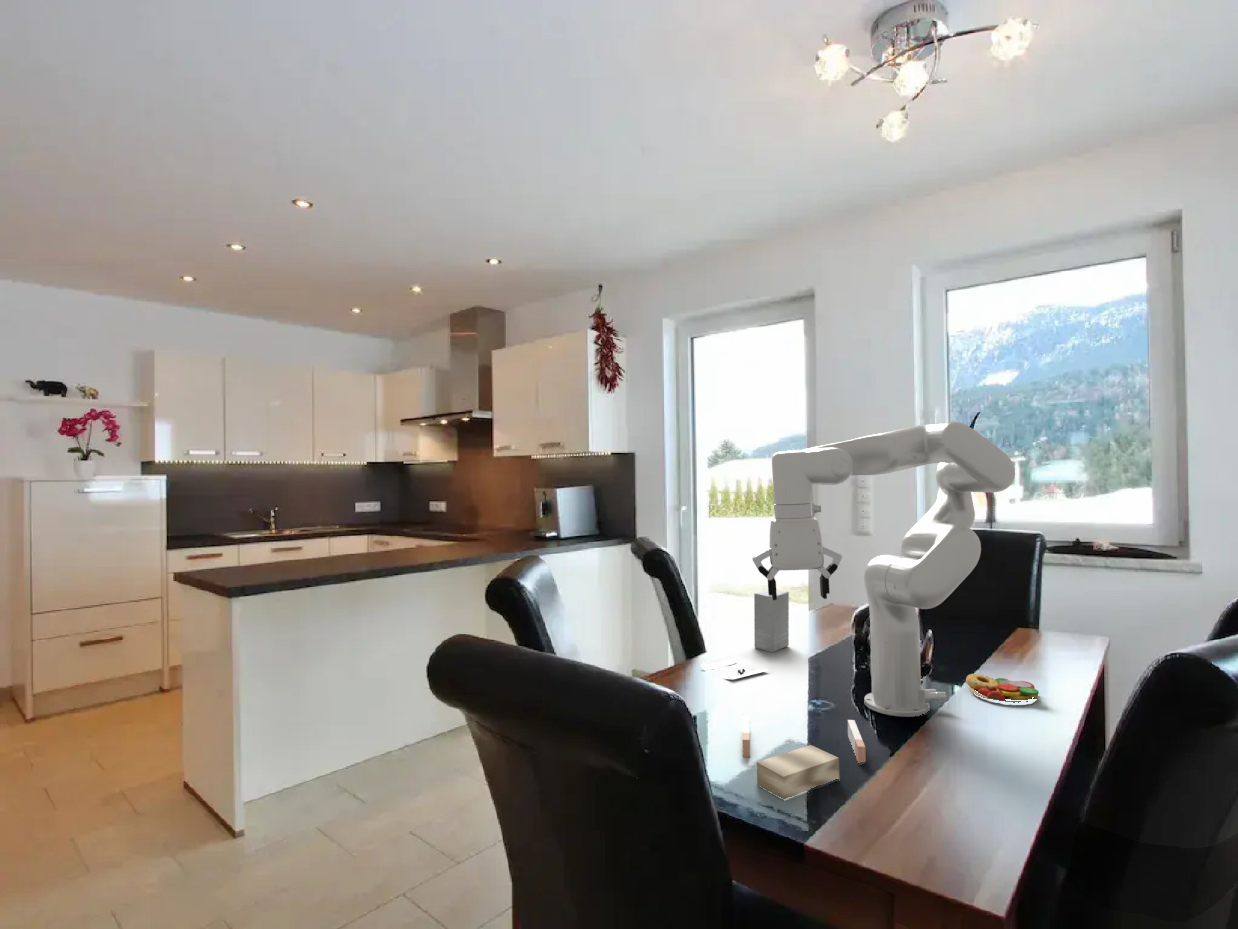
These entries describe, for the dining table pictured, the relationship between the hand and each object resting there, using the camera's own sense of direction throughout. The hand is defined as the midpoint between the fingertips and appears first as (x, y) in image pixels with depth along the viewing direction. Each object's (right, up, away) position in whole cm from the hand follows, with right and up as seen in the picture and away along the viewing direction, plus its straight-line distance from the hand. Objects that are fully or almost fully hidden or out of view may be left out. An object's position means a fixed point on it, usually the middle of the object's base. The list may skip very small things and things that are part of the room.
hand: (798, 598), depth 131 cm
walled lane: (-3, -24, -12) cm, 27 cm away
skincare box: (+7, -25, +53) cm, 59 cm away
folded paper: (-7, -26, +33) cm, 42 cm away
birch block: (-7, -25, -26) cm, 36 cm away
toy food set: (+48, -24, +11) cm, 55 cm away
